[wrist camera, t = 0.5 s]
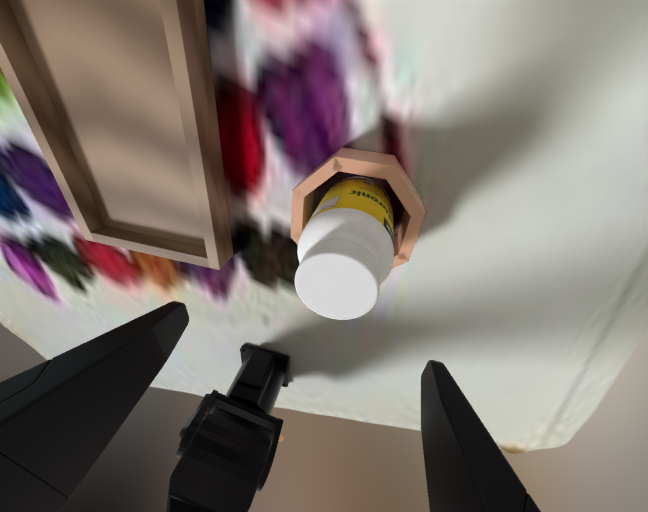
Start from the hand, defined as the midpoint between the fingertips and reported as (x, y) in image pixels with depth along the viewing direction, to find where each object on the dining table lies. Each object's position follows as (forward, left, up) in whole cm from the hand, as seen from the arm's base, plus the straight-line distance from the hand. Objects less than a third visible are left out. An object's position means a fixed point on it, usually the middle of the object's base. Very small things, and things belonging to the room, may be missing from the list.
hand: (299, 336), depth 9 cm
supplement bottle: (0, -1, -13) cm, 13 cm away
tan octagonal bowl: (0, -1, -13) cm, 13 cm away
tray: (+3, +17, -13) cm, 22 cm away
